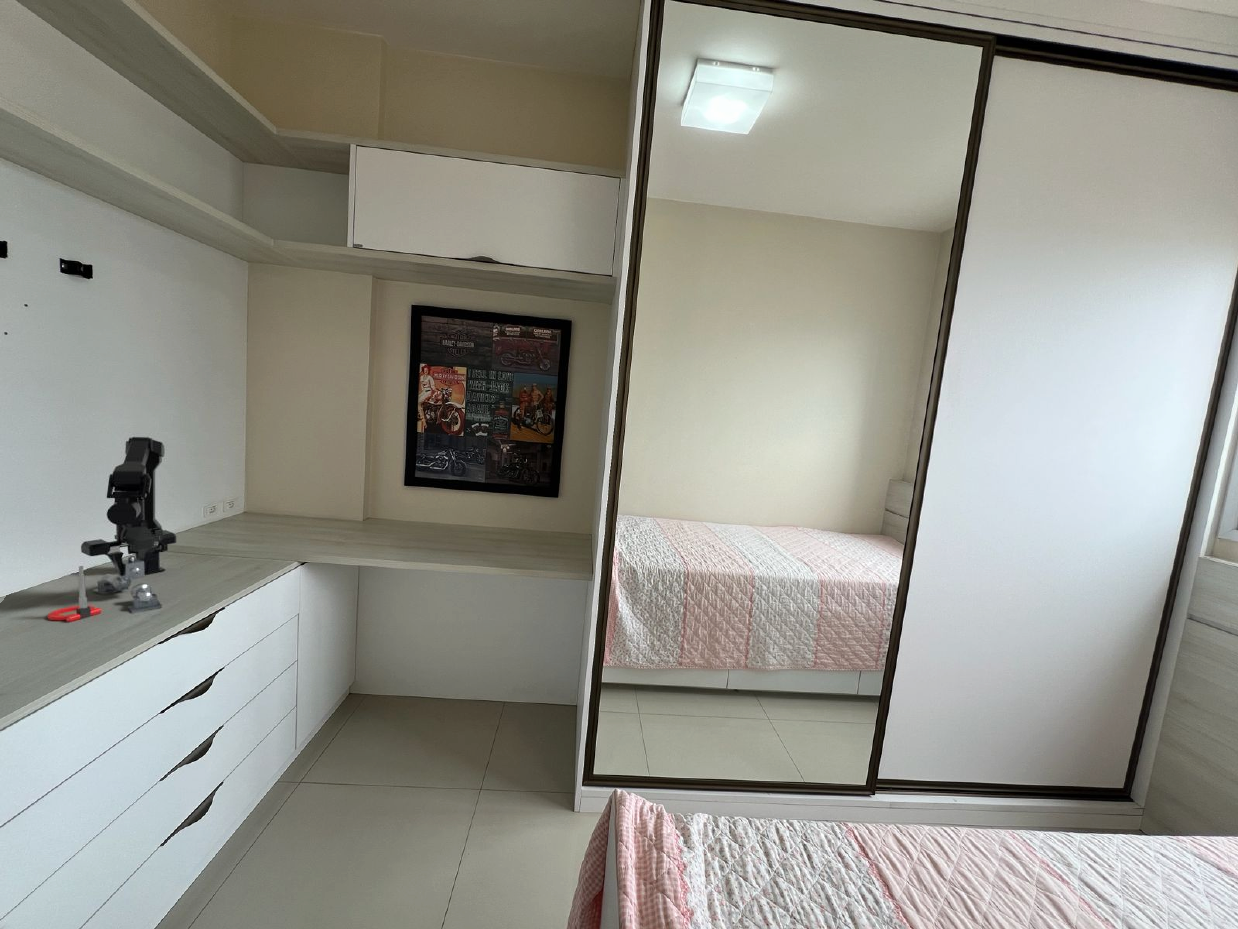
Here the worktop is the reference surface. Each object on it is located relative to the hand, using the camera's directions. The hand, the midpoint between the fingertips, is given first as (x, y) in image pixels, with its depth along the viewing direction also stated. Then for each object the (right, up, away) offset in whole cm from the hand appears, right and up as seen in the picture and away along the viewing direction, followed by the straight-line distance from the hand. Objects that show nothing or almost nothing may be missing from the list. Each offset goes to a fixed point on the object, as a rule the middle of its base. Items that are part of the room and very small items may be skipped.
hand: (131, 573), depth 153 cm
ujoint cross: (0, -1, 0) cm, 1 cm away
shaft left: (-8, -6, +4) cm, 10 cm away
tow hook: (-4, -8, -12) cm, 15 cm away
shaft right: (+6, -8, -4) cm, 11 cm away
